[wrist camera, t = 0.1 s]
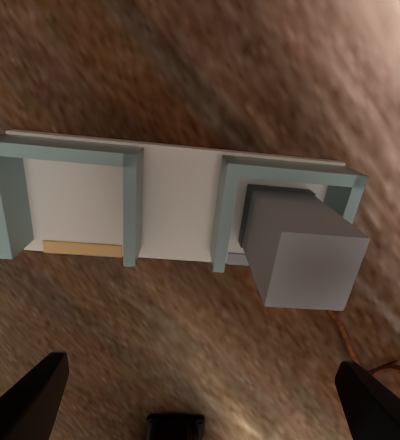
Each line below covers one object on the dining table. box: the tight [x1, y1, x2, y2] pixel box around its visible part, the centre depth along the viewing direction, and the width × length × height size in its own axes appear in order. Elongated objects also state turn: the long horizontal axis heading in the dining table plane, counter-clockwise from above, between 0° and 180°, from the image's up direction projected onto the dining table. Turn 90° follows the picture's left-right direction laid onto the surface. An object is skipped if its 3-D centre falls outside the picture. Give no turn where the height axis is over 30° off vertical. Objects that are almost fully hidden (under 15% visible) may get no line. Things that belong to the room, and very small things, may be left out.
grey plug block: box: [238, 184, 370, 311], centre depth 19 cm, size 5×5×8 cm
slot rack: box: [0, 129, 368, 273], centre depth 21 cm, size 9×24×4 cm, turn 84°
